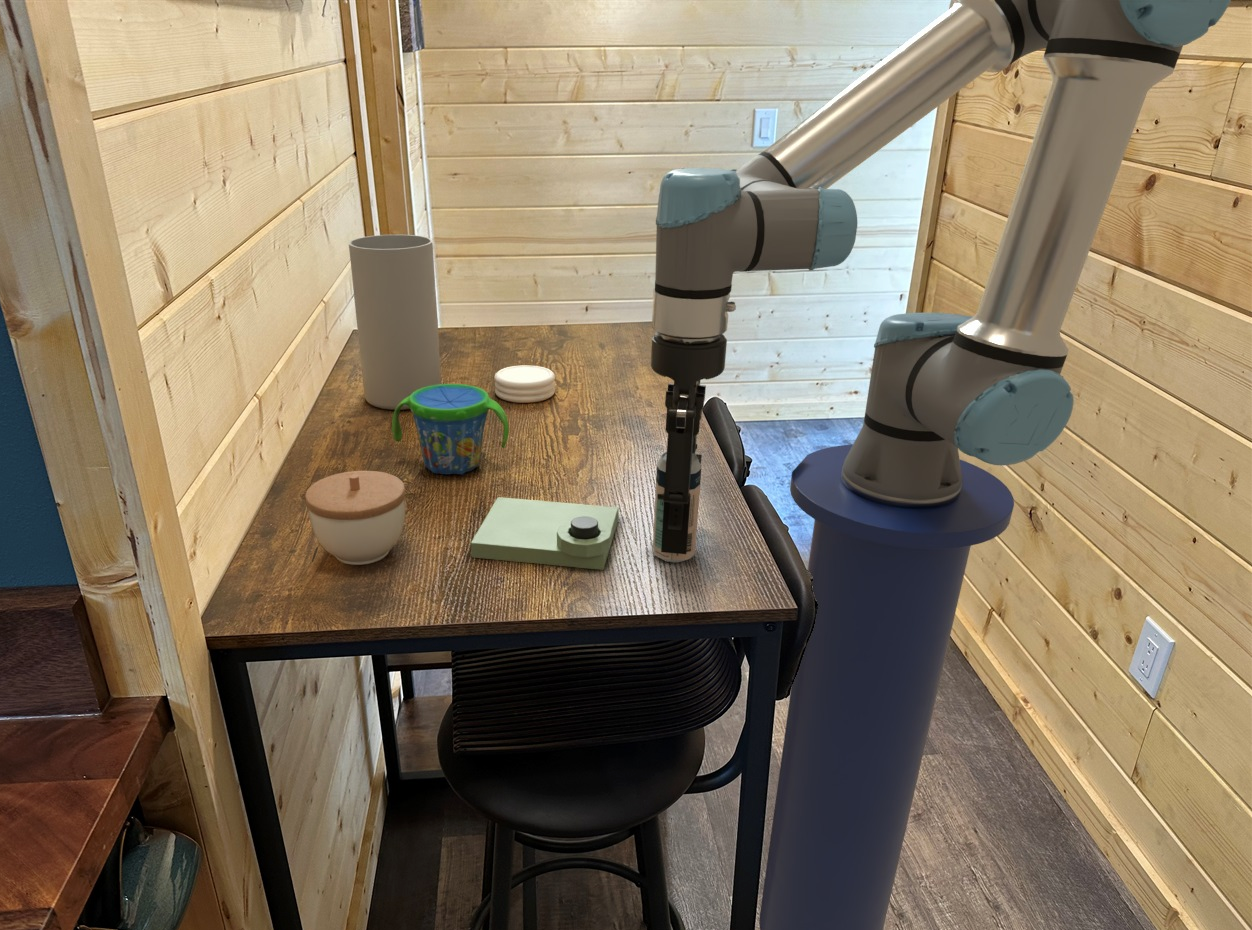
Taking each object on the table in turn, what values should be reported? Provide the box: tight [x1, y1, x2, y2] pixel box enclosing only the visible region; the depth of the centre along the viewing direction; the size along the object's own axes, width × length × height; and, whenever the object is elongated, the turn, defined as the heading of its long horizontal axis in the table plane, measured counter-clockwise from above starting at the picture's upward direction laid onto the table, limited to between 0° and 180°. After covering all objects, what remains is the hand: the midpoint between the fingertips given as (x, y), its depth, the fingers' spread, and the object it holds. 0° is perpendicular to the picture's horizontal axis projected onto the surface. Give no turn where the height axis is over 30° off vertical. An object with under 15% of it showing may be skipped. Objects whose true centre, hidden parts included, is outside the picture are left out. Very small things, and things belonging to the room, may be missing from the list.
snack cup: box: [391, 383, 510, 476], centre depth 123 cm, size 16×10×10 cm
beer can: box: [652, 450, 702, 563], centre depth 100 cm, size 5×5×12 cm
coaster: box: [494, 364, 556, 404], centre depth 151 cm, size 10×10×4 cm
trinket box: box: [304, 470, 406, 566], centre depth 101 cm, size 11×11×9 cm
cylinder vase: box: [348, 234, 442, 411], centre depth 144 cm, size 12×12×25 cm
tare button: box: [571, 516, 598, 540], centre depth 100 cm, size 3×3×2 cm
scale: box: [470, 496, 620, 571], centre depth 105 cm, size 15×13×4 cm
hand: (676, 533), depth 102 cm, fingers open, 8 cm apart
